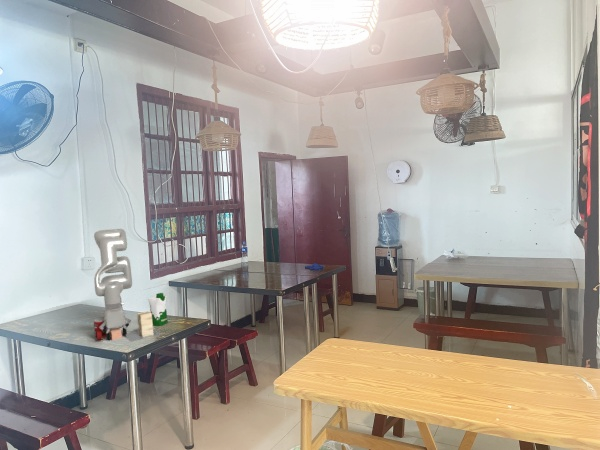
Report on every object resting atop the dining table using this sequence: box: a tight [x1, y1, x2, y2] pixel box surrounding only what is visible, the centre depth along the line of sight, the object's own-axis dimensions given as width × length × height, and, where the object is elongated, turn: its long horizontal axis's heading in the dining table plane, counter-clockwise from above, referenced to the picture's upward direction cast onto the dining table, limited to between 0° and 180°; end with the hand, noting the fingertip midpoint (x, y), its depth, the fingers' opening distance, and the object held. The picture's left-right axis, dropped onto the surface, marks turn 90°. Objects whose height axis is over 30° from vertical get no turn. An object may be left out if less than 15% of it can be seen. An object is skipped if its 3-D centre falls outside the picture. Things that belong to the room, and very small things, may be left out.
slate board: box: [122, 329, 161, 343], centre depth 242 cm, size 18×16×2 cm
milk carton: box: [147, 292, 169, 327], centre depth 260 cm, size 9×9×20 cm
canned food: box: [93, 317, 107, 341], centre depth 245 cm, size 8×8×11 cm
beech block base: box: [137, 324, 154, 337], centre depth 241 cm, size 6×6×6 cm
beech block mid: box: [136, 311, 153, 326], centre depth 240 cm, size 6×6×6 cm
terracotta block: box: [109, 328, 123, 341], centre depth 238 cm, size 5×5×6 cm
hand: (116, 337), depth 239 cm, fingers open, 7 cm apart
